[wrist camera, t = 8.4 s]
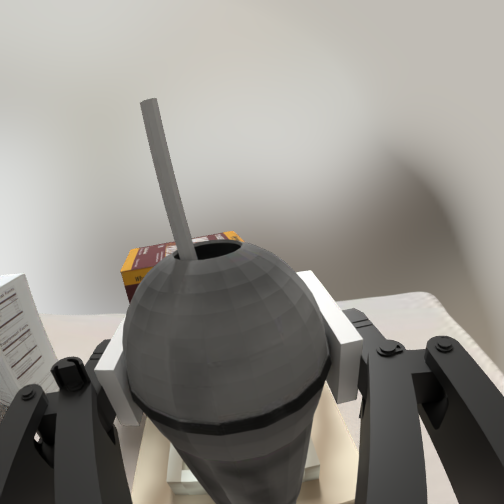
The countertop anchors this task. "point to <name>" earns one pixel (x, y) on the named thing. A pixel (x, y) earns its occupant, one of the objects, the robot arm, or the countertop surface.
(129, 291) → the supplement box
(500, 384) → the countertop surface
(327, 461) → the cup holder
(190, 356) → the beverage cup
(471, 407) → the robot arm
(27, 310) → the supplement box
